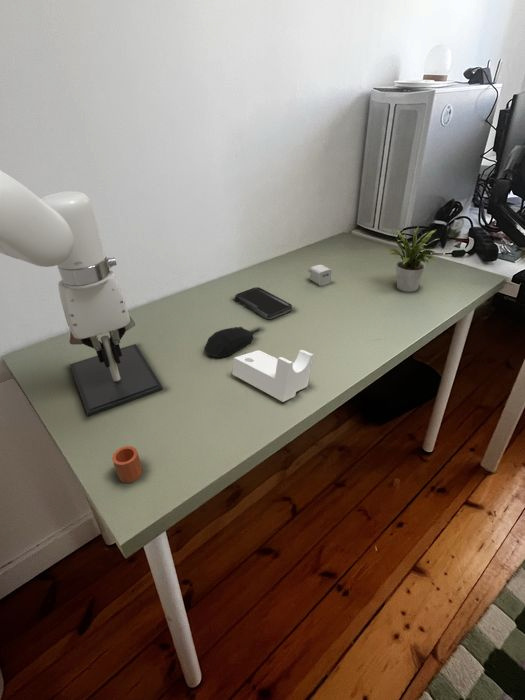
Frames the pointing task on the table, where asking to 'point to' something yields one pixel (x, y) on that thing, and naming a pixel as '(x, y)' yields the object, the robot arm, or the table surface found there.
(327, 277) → the usb wall charger
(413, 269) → the house plant
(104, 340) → the stylus
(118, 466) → the pen holder
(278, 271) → the table surface
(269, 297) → the phone
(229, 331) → the gaming mouse
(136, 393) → the tablet
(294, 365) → the bracket
